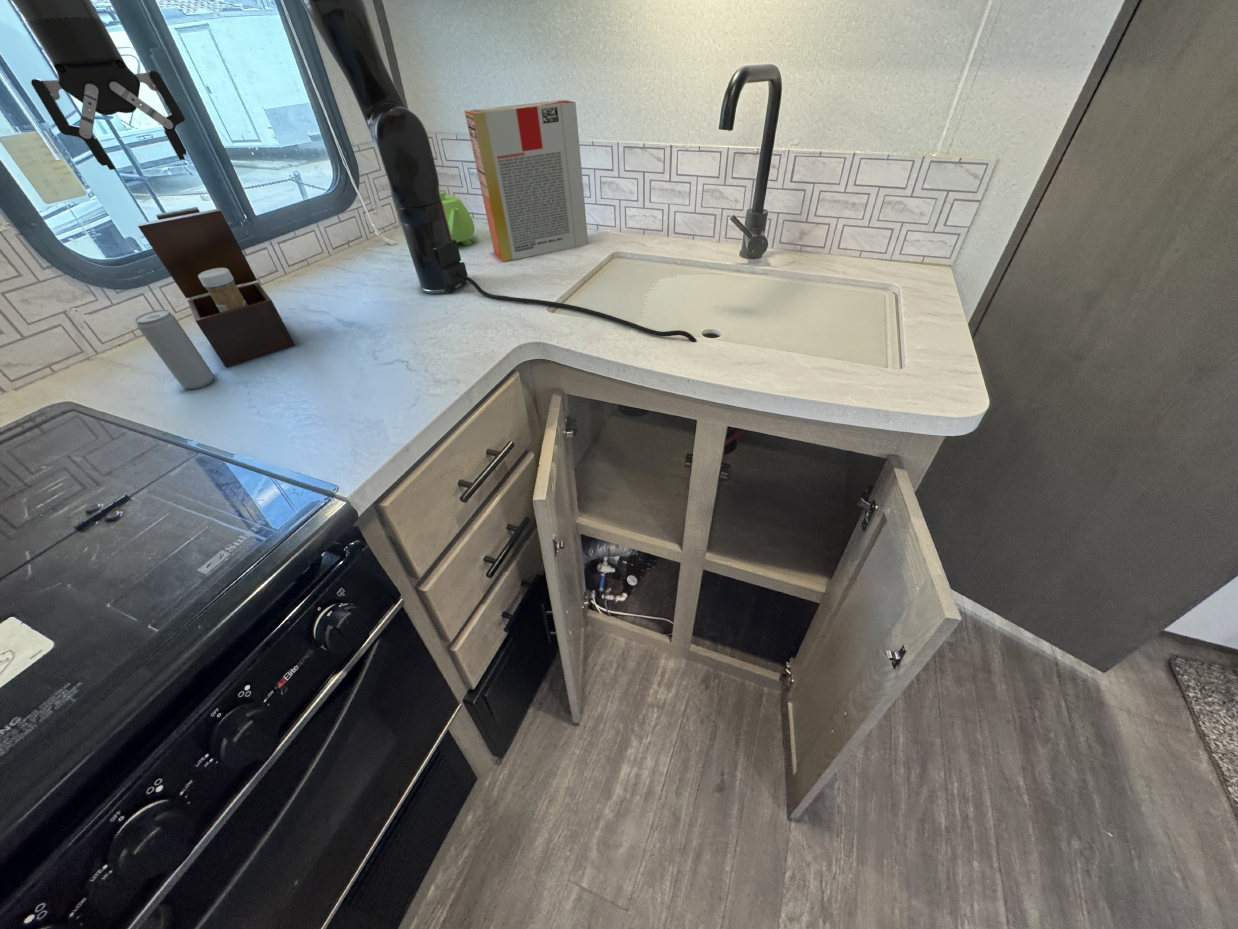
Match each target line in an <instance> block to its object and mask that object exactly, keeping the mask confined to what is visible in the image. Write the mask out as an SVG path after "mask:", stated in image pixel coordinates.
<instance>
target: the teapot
mask: <svg viewBox="0 0 1238 929" xmlns="http://www.w3.org/2000/svg"><path fill="white" fill-rule="evenodd" d="M440 195H441V198H442V202H443V206H444V210H445V214H446V218H447V222H448V225H449V229H450V233H451V237H452V239H455V240H456V242H457V243H461V244H462V246H469V245H471V244H472V241H471V240H470V239H472V238H473V236H474V234H475V229H476V228H475V224H474V221H473V218H472V215H471V213H470V212H469V210H468V208H467V207H466V206H465V204H464V203H463V202H462V200H461V199H460V198H459V197H458V196H455V195H451V194H449V195H448V194H447V195H446V192H445V191H443V190H442V191H440Z"/></svg>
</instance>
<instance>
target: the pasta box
mask: <svg viewBox="0 0 1238 929" xmlns="http://www.w3.org/2000/svg"><path fill="white" fill-rule="evenodd" d="M576 103H577V102H576V101H571V100H565V99H558V100H548V101H539V102H532V103H522V104H513V105H511V104H510V105H503V106H494V107H486V108H485V107H484V108H478V109H477V108H475V109H466V110H464V115H465V120H466V124H467V129H468V130H467V131H468V134H469V135H468V136H469V139H470V144H471V148H472V153H473V158H474V163H475V168H476V173H477V177H478V182H479V186H480V190H481V196H482V201H483V205H484V210H485V215H486V219H487V225H488V229H489V234H490V239H491V244H492V247H493V253H494V254H495V255H496V257H497V258H498V259H499V260H500V261H501V262H502V263H504V262H509V261H514V260H519V259H523V258H528V257H533V256H538V255H543V254H544V255H545V254H548V253H553V252H557V251H564V250H567V249H568V250H569V249H573V248H578V247H583V246H587V245H589V236H588V225H587V214H586V203H585V190H584V183H583V182H584V181H583V180H584V179H583V170H582V161H581V160H582V158H581V148H580V137H579V136H580V135H579V127H578V126H579V124H578V115H577V114H578V113H577V104H576Z"/></svg>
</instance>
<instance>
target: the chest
mask: <svg viewBox="0 0 1238 929" xmlns="http://www.w3.org/2000/svg"><path fill="white" fill-rule="evenodd" d="M237 288H238V289H239V291H240V293H241V295H242V296H243V298H244V300H245V301H246V303H247V304H248V305H247V306H243V307H239V308H236V309H232V310H228V311H225V312H220V311H219V309H218V308H217V306H216V304H215V302H214V300H213V299H212V297H211V295H210V294H208V295H204V296H201V297H197V298H193V299H189V298H188V299H187V303H188V306H189V308H190V311H191V313H192V316H193V319H194V321H195V323H196V324H197V326H198V327H199V329H200V330H201V332H202V334H203V335H204V337H205V338H206V340H207V341H208V342H209V344H210V346H211V348H212V349H213V351H214V352H215V354H216V355H217V356H218V358H219V359H220V361H221V363H222V364H223V366H224V367H225V368H230V367H232V366H236V365H239V364H242V363H246V362H248V361H252V360H254V359H258V358H260V357H265V356H267V355H269V354H274V353H276V352H279V351H282V350H286V349H289V348H292V347H296V344H295V341H294V340H293V338H292V336H291V334H290V332H289V330H288V328H287V327H286V326H287V325H285V323H284V321H283V319H282V317H281V315H280V313H279V311H278V309H277V308H276V306H275V304H274V301H273V300H272V299H271V297H270V296H269V295H268V293H267V292H266V291H265V289H264V288H263V287H262V285H261V283H259V281H254V282H250V283H246V284H243V285H239V286H237Z"/></svg>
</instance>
